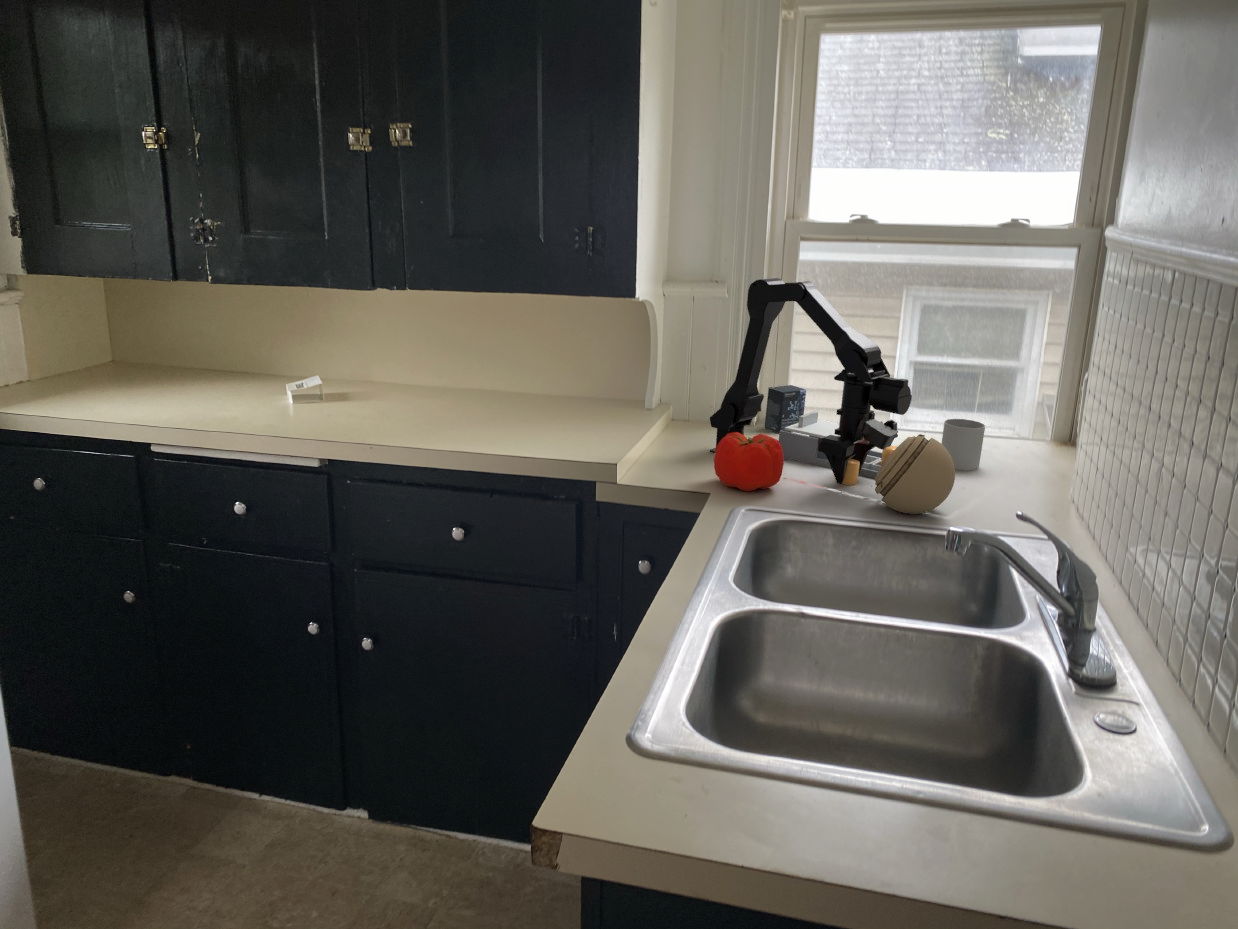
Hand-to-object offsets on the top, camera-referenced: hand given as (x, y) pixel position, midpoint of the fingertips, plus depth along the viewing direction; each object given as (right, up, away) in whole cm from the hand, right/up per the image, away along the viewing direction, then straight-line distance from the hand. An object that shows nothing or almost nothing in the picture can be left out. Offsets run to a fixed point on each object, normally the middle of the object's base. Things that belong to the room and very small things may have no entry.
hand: (847, 479), depth 196 cm
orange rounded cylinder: (0, -1, 0) cm, 1 cm away
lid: (-2, +11, +17) cm, 20 cm away
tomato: (-21, -1, -3) cm, 21 cm away
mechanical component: (+8, -6, -14) cm, 18 cm away
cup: (+28, +2, +16) cm, 32 cm away
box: (-6, +12, +42) cm, 44 cm away
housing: (+3, +3, +15) cm, 16 cm away
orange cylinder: (+11, +2, +9) cm, 14 cm away
